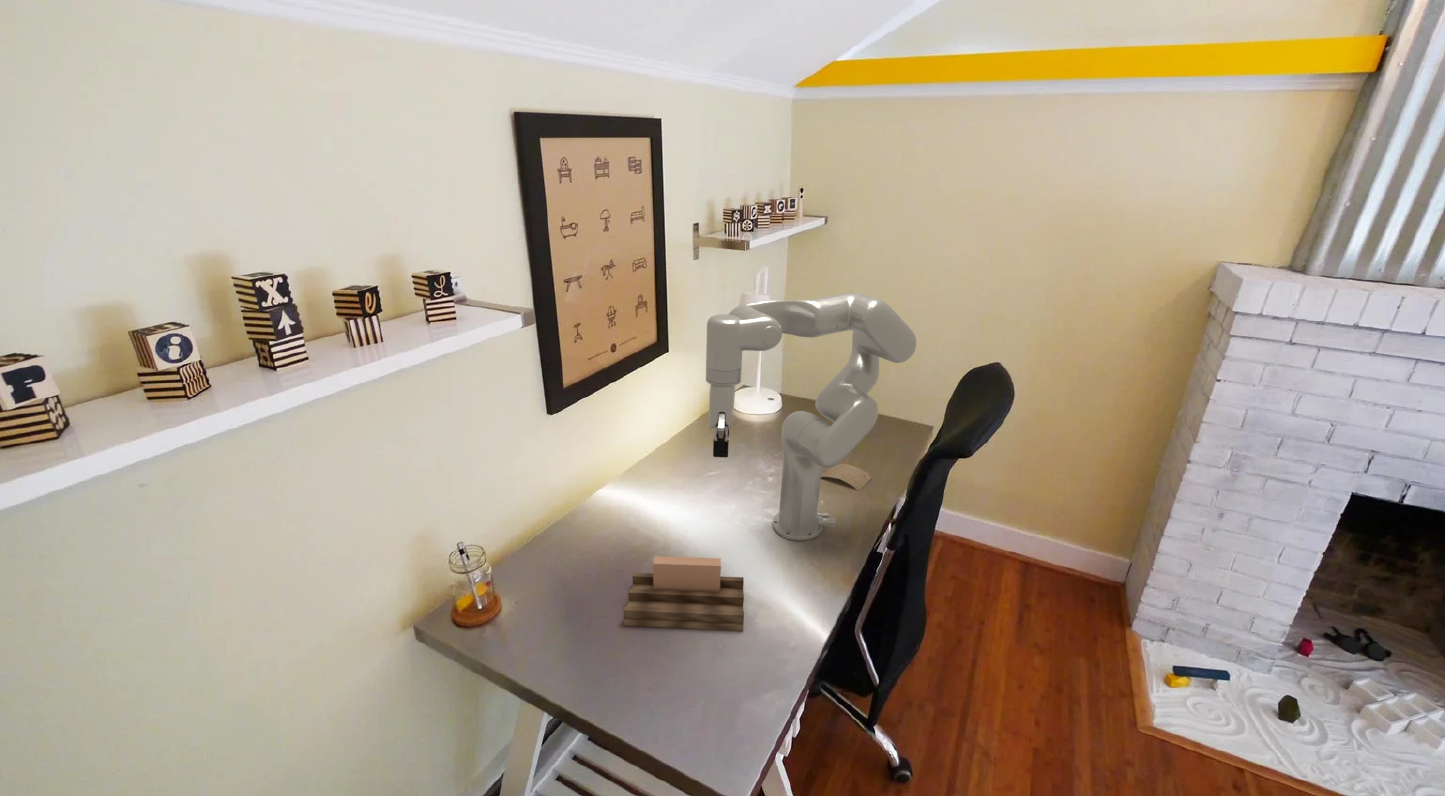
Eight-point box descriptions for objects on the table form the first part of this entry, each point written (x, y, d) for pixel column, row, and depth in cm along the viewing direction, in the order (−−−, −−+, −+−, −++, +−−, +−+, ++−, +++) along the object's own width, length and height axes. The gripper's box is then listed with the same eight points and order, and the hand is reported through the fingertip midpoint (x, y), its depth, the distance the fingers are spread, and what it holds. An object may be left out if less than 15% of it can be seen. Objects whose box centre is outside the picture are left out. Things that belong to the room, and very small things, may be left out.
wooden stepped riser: (742, 589, 129) (743, 576, 128) (743, 630, 118) (744, 617, 117) (634, 584, 130) (633, 571, 128) (623, 625, 118) (623, 611, 117)
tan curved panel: (873, 480, 178) (875, 472, 177) (861, 494, 170) (862, 486, 169) (829, 466, 185) (830, 458, 184) (815, 479, 177) (816, 471, 176)
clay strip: (719, 589, 127) (720, 558, 124) (719, 597, 125) (720, 565, 122) (655, 586, 127) (654, 556, 124) (653, 594, 125) (653, 563, 122)
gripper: (708, 360, 133) (706, 429, 139) (703, 387, 117) (702, 464, 123) (741, 361, 132) (738, 430, 139) (741, 389, 116) (737, 465, 123)
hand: (721, 446), depth 131 cm, fingers open, 9 cm apart
